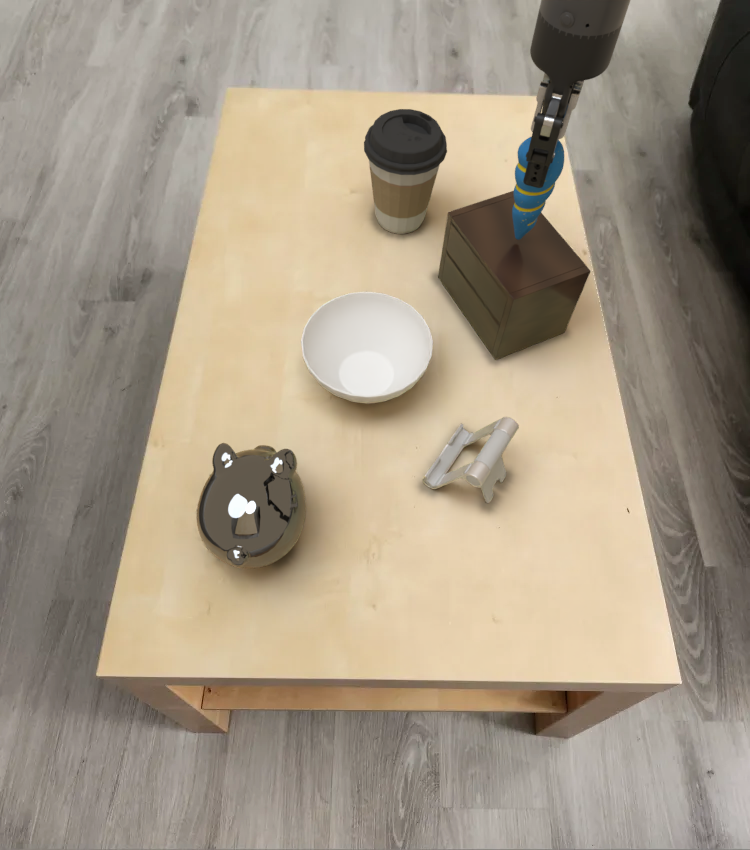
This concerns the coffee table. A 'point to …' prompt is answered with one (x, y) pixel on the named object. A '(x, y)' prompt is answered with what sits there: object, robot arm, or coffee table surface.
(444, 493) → the coffee table surface
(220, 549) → the piggy bank
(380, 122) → the coffee cup
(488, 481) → the tablet stand
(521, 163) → the ornament
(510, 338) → the wooden drawer cabinet
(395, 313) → the bowl
